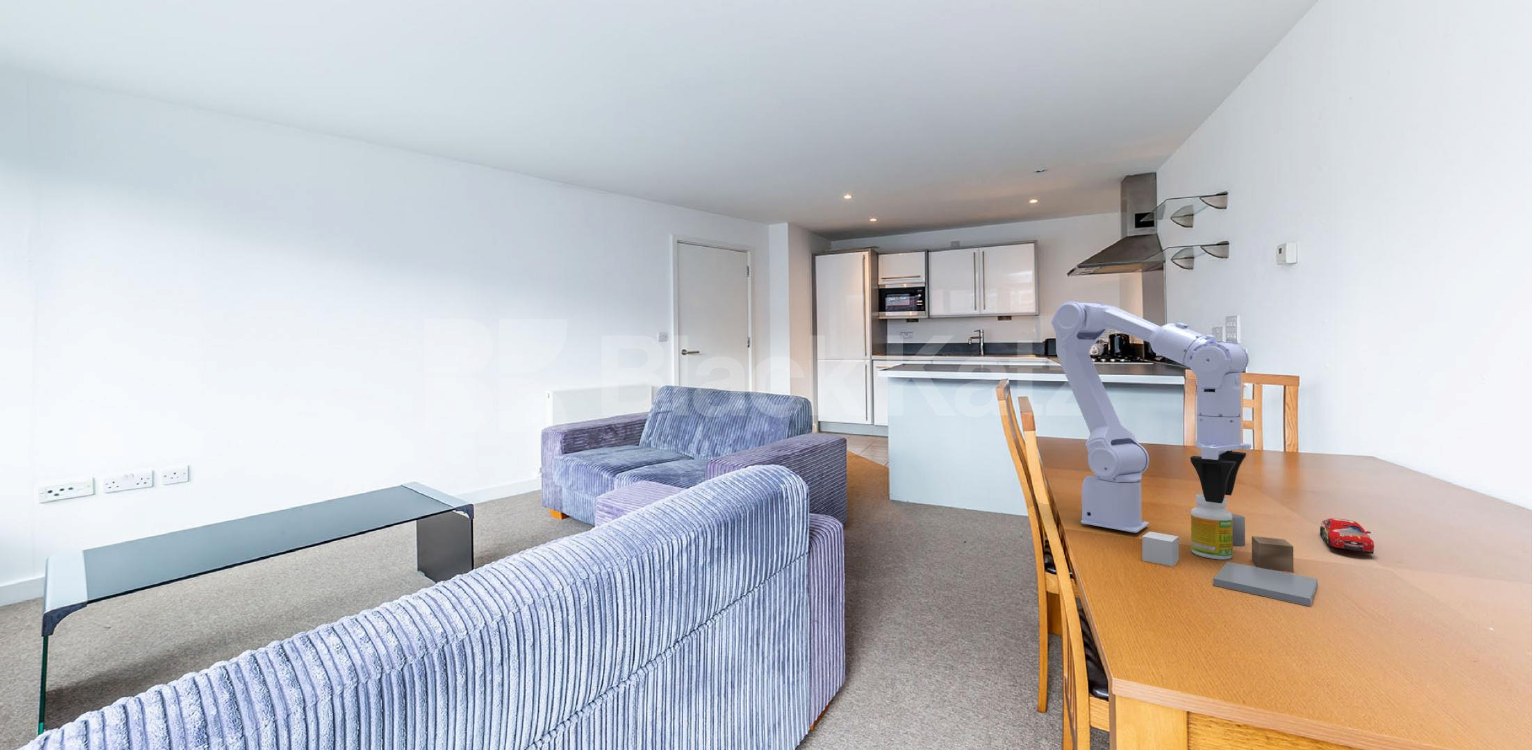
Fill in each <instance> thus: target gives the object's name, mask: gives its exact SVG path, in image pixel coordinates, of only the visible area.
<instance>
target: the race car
mask: <svg viewBox="0 0 1532 750" xmlns="http://www.w3.org/2000/svg"><path fill="white" fill-rule="evenodd" d="M1371 533H1372V532H1371V531H1370V530H1369V531H1368V530H1367V531H1366V530H1365V529H1364V527H1362V525H1361V524H1360V523H1359V522H1357V521H1354V520H1350V519H1345V518H1344V519H1343V518H1327V519H1325V520H1322V522H1321V523H1320V527H1319V534H1320V538H1321V539H1323V540H1324V542H1325V543H1327V544H1328V548H1329V549H1334V550H1336V549H1337V548H1339V549H1344V550H1351V551H1360V552H1365V554H1370V555H1372V554H1374V552H1375V541H1374V540H1373V539H1372V538H1371V537H1370V535H1368V534H1371Z"/></svg>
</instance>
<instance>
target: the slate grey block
mask: <svg viewBox="0 0 1532 750" xmlns="http://www.w3.org/2000/svg"><path fill="white" fill-rule="evenodd" d="M1231 514H1232V526H1233V547H1244V546H1246V517H1245V516H1243V515H1240V514H1235V513H1231Z"/></svg>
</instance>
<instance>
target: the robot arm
mask: <svg viewBox="0 0 1532 750" xmlns="http://www.w3.org/2000/svg"><path fill="white" fill-rule="evenodd" d="M1050 322H1051V325H1052V328H1053V330H1054V332H1055V348H1056V349H1055V352H1056V355H1057V358H1058V361H1059V362H1060V365H1061V367H1062V368H1061V369H1062V370H1063V373H1064V374H1065V377H1066V379H1067V382H1068V384H1069V387H1070V389H1071V392H1072V394H1073V395H1074V397H1075V400H1076V403H1077V405H1078V408H1079V409H1080V410H1079V411H1080V413H1081V415H1082V417H1083V419H1084V421H1085V423H1086V426H1087V428H1088V430H1089V433H1090V435H1088V437H1087V440H1086V442H1085V447H1086V450H1087V462H1088V463H1087V464H1088V467H1089V468H1090V471H1091V472H1092V473H1093V474H1094V475H1087V476H1085V477H1084V479H1083V482H1082V485H1081V486H1082V487H1081V520H1080V523H1081V524H1083V525H1090V526H1091V525H1092V526H1095V527H1102V528H1106V529H1112V530H1113V529H1114V530H1118V531H1124V532H1129V533H1135V534H1136V533H1138V532H1140V531H1141V530H1143V529H1145V528H1146V527H1147V526H1149V524H1150V522H1148V521H1145V520H1144V521H1143V520H1142V479H1143V473H1144V472H1145V471H1146V470H1147V469H1148V467H1149V464H1150V456H1149V454H1148V453H1149V452H1148V451H1147V450H1146V448H1145V447H1144V446H1143V445H1141V444H1140V443H1139V442H1138V441H1137V439H1136V437H1135V434H1134V433H1132V432H1131V430H1128V429H1127V428H1126V427H1124V426H1123V425H1122V424H1121V421H1120V419H1119V417H1118V415H1117V412H1116V411H1115V409H1114V406H1113V404H1112V402H1111V399H1110V397H1109V395H1108V393H1107V391H1106V389H1105V386H1104V384H1103V382H1102V379H1101V378H1100V375H1099V373H1098V371H1097V368H1096V366H1095V364H1094V361H1093V360H1092V357H1091V355H1090V351H1091V350H1092V348H1093V346H1094V345H1095V344H1096V343H1097V341H1098V340H1099V339H1100V338H1101V337H1102V336H1103V335H1104V334H1105V332H1106V331H1107V330H1114V331H1117V332H1120V333H1123V334H1126V335H1129V336H1130V337H1131V336H1132V337H1133V338H1136V339H1139V340H1141V341H1144V342H1147V343H1149V344H1150V347H1151V349H1152V351H1153V353H1155V354H1157V355H1160V356H1161V357H1165V358H1167V359H1169V360H1172V361H1173V362H1176V363H1179V364H1180V365H1183V366H1185V367H1186V368H1187V367H1188V368H1189V369H1190V371H1192V373H1193V374H1194V375H1195V377H1196V440H1195V443H1194V444H1195V447H1196V448H1198V449H1200V450H1201V455H1199V456H1197V455H1192V456H1190V457H1189V459H1190V463H1191V465H1192V466H1193V467H1194V469H1195V471H1196V474H1197V476H1198V479H1199V482H1200V487H1201V490H1202V494H1204V498H1205V500H1206V502H1214V503H1222V502H1223V500H1224V497H1225V496H1232V494H1233V490H1234V489H1235V483H1236V479H1237V475H1238V471H1239V470H1240V468H1241V466H1242V463H1243V461H1244V459H1245V458H1246V457H1247V452H1242V451H1238V450H1251V449H1252V444H1251V443H1242V373H1243V372H1244V371H1245V370H1246V369H1247V367H1248V365H1249V361H1250V359H1249V358H1250V357H1249V355H1248V352H1247V350H1245V349H1244V347H1242V346H1241V345H1240V344H1239V345H1238V344H1237V343H1236V342H1234V341H1221V342H1218V341H1217V338H1218V337H1217V335H1214V334H1206V335H1205V334H1202V333H1199V332H1197V331H1194V330H1192V329H1189V324H1186V323H1184V322H1176V323H1171V322H1170V323H1166V324H1164V325H1158V324H1156V323H1153V322H1152V321H1149V320H1146V319H1144V318H1142V317H1140V316H1139V315H1138V316H1137V315H1135V314H1132V313H1130V312H1128V311H1126V310H1124V309H1121V308H1119V307H1117V306H1114V305H1107V304H1105V303H1102V302H1093V303H1092V302H1077V301H1073V300H1070V301H1069V300H1067V301H1065V302H1063V303H1061V305H1059V306H1058V307H1057V309H1056V310H1055V313H1054V315H1053V318H1052V320H1051V321H1050Z"/></svg>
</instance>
